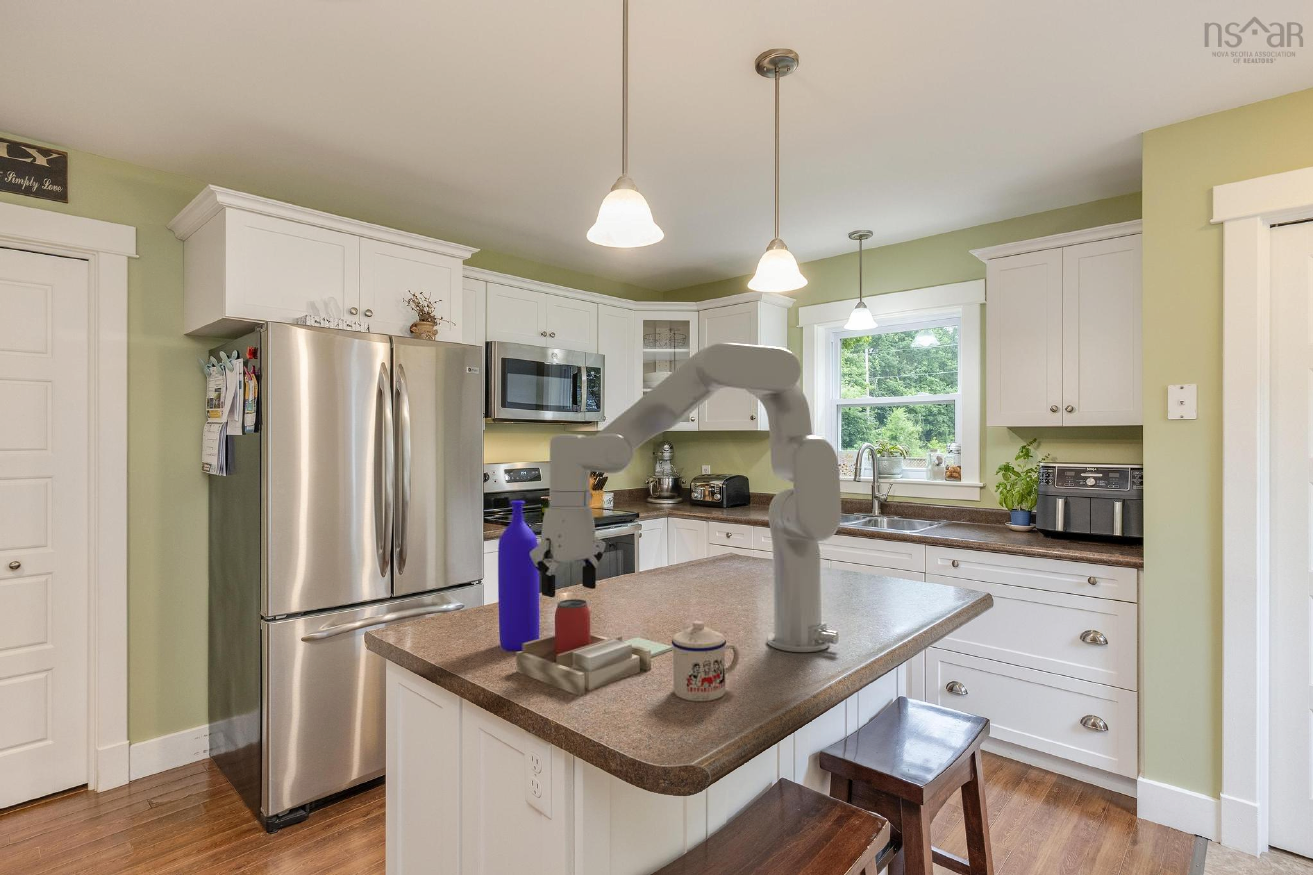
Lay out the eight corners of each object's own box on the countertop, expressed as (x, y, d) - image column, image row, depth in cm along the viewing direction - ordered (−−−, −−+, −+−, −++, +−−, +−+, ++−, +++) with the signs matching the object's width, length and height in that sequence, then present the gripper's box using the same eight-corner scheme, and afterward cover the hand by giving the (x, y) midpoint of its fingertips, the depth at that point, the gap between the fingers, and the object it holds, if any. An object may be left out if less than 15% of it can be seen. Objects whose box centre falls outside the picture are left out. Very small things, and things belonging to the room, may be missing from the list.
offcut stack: (639, 672, 121) (639, 642, 121) (589, 691, 112) (588, 658, 112) (621, 666, 124) (620, 637, 124) (570, 684, 116) (570, 652, 116)
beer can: (584, 673, 120) (583, 607, 120) (550, 671, 122) (549, 606, 122) (595, 661, 127) (594, 598, 127) (562, 660, 128) (561, 597, 128)
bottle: (547, 642, 140) (545, 499, 140) (524, 654, 132) (521, 503, 132) (515, 638, 143) (513, 498, 143) (490, 649, 135) (488, 502, 136)
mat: (672, 649, 133) (672, 646, 133) (637, 662, 126) (637, 659, 126) (637, 640, 140) (637, 637, 140) (602, 651, 133) (602, 648, 133)
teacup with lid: (686, 706, 105) (685, 632, 105) (664, 687, 113) (662, 618, 113) (752, 694, 109) (751, 623, 109) (726, 676, 118) (725, 610, 118)
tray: (651, 668, 122) (650, 641, 122) (580, 695, 110) (579, 665, 110) (586, 649, 134) (586, 624, 134) (516, 671, 122) (516, 644, 122)
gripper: (591, 496, 133) (591, 582, 133) (519, 501, 121) (518, 596, 120) (617, 498, 128) (616, 587, 128) (544, 504, 115) (544, 603, 115)
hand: (569, 591), depth 124 cm, fingers open, 9 cm apart
